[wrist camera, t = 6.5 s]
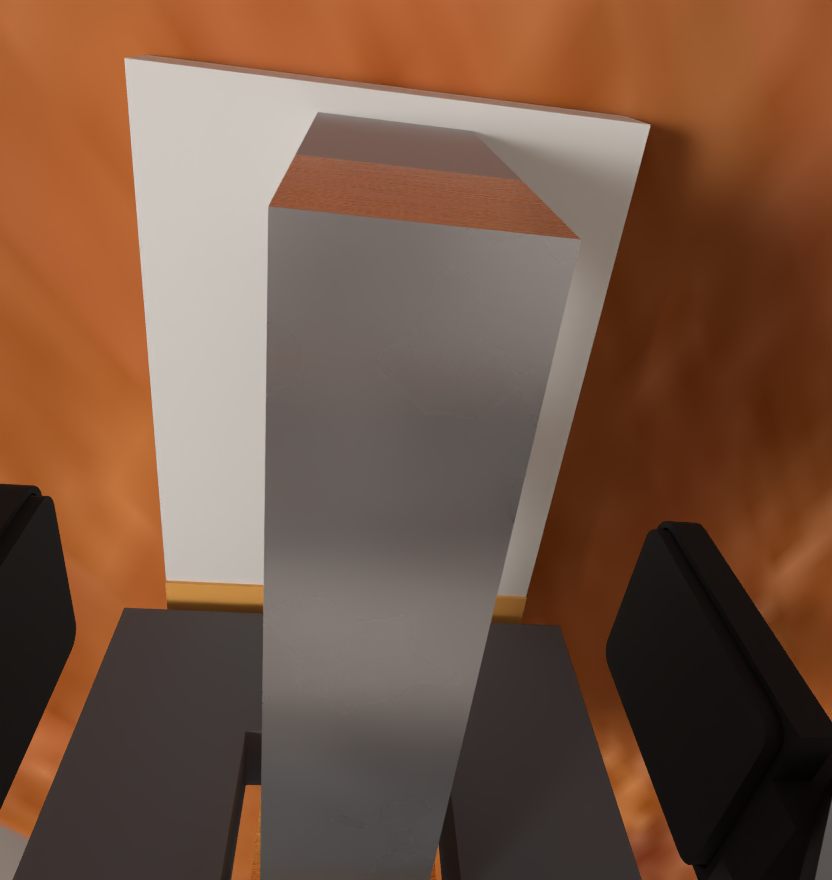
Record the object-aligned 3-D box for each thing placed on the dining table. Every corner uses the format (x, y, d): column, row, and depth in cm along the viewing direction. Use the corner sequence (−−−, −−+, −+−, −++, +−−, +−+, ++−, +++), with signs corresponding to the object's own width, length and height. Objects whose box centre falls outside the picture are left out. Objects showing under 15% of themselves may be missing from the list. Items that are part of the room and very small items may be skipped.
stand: (146, 54, 14) (2, 76, 8) (626, 116, 15) (779, 171, 10) (190, 716, 24) (137, 925, 18) (476, 723, 25) (508, 922, 20)
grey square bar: (282, 149, 9) (243, 208, 6) (533, 179, 10) (607, 247, 7) (265, 907, 19) (247, 1070, 16) (392, 906, 19) (397, 1065, 16)
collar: (124, 607, 19) (-170, 1322, 8) (559, 625, 20) (764, 1260, 10) (130, 660, 20) (-126, 1357, 9) (544, 673, 21) (717, 1295, 11)
